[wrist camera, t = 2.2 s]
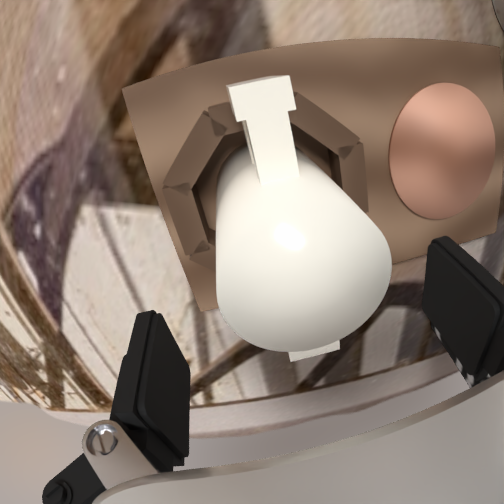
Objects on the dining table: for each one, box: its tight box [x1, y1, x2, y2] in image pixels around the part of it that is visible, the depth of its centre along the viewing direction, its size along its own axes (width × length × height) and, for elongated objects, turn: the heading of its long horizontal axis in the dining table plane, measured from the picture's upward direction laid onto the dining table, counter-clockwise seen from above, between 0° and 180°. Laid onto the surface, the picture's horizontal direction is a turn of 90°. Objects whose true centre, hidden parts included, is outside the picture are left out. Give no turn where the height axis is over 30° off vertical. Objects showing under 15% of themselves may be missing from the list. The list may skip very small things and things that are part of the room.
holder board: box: [122, 38, 504, 312], centre depth 19 cm, size 16×26×3 cm, turn 102°
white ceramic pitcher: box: [216, 75, 392, 362], centre depth 14 cm, size 11×6×10 cm, turn 12°
